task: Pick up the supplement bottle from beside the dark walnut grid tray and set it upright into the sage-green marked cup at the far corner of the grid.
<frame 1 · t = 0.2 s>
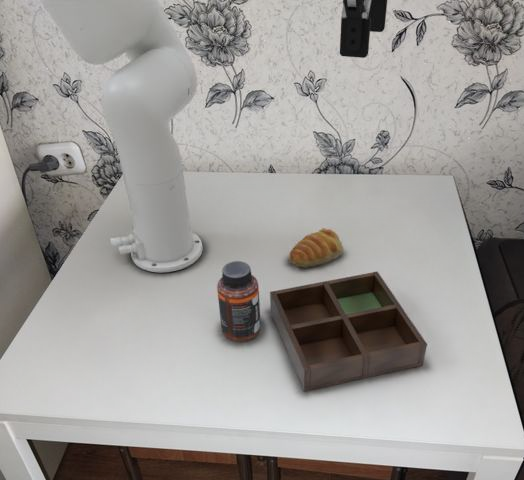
hand: (362, 42, 71), 37 cm above the table, tool pointing down, fingers open, 9 cm apart
supplement bottle: (241, 330, 90), on the table
grid: (342, 337, 87), on the table
pastry: (316, 256, 103), on the table
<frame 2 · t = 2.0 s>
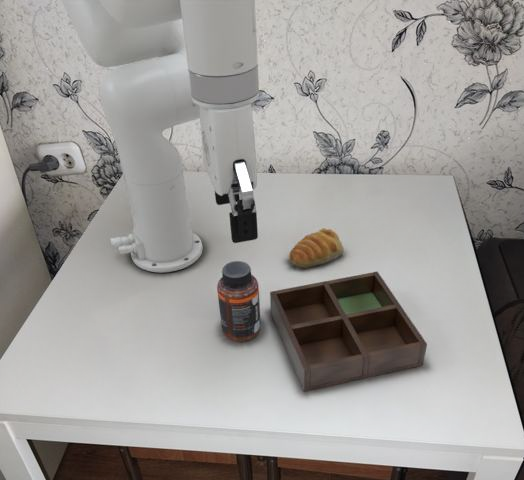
hand: (236, 220, 76), 19 cm above the table, tool pointing down, fingers open, 9 cm apart
nothing on the table moved.
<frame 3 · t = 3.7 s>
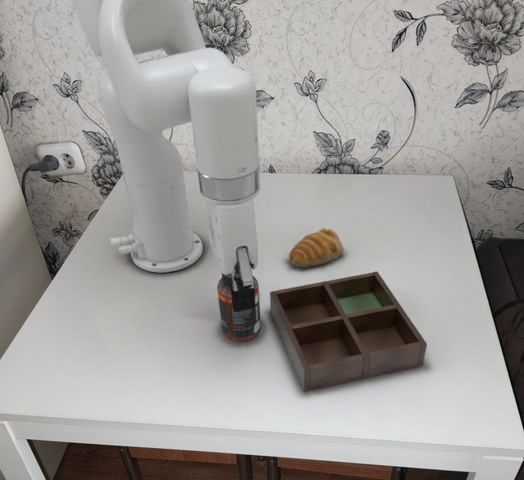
hand: (238, 293, 85), 7 cm above the table, tool pointing down, fingers closed on supplement bottle, 6 cm apart
supplement bottle: (241, 330, 90), on the table, touching gripper
everything else where it was.
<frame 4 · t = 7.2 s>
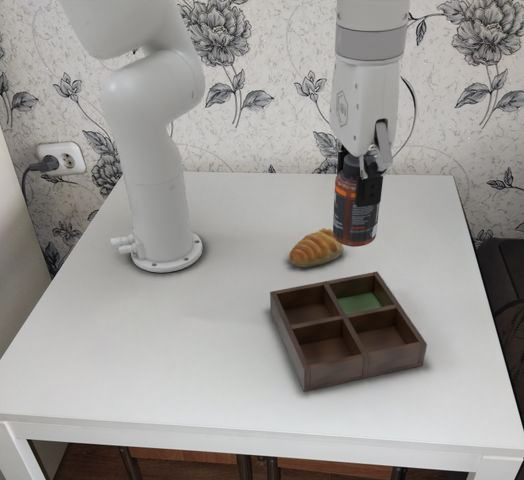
hand: (357, 190, 76), 21 cm above the table, tool pointing down, fingers closed on supplement bottle, 6 cm apart
supplement bottle: (354, 237, 81), point 14 cm above the table, touching gripper
everything else where it was.
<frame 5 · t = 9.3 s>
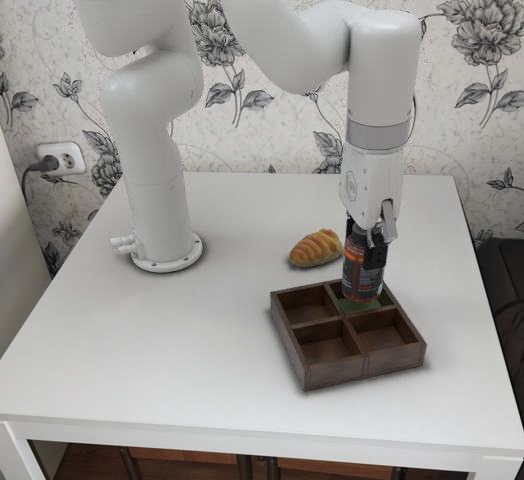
hand: (364, 253, 83), 11 cm above the table, tool pointing down, fingers closed on supplement bottle, 6 cm apart
supplement bottle: (361, 293, 88), point 4 cm above the table, touching gripper
everything else where it was.
when the fingers open (8 cm above the table, at t = 10.8 s): supplement bottle stays where it is, resting on grid.
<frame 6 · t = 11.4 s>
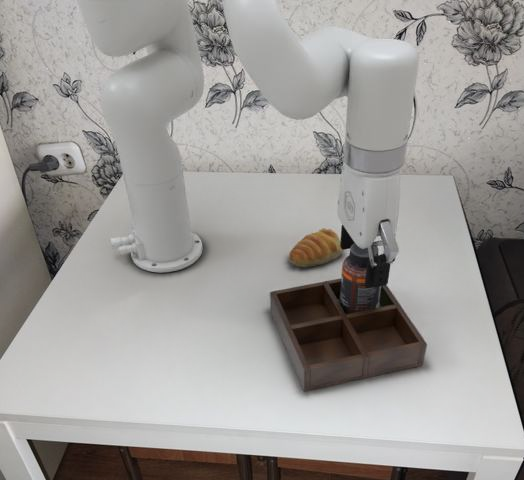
hand: (362, 265, 85), 9 cm above the table, tool pointing down, fingers open, 9 cm apart
supplement bottle: (358, 311, 91), point 1 cm above the table, touching grid
everything else where it was.
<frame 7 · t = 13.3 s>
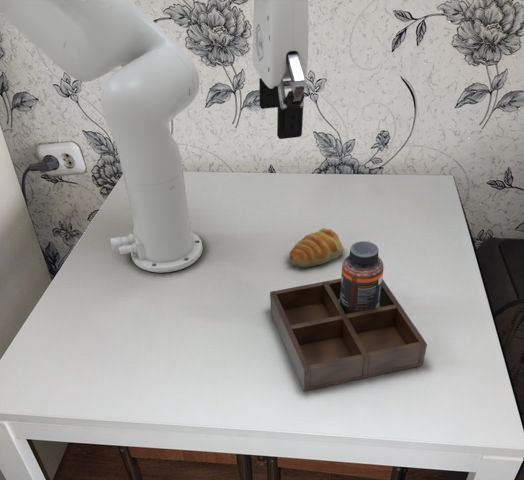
hand: (279, 121, 80), 26 cm above the table, tool pointing down, fingers open, 9 cm apart
nothing on the table moved.
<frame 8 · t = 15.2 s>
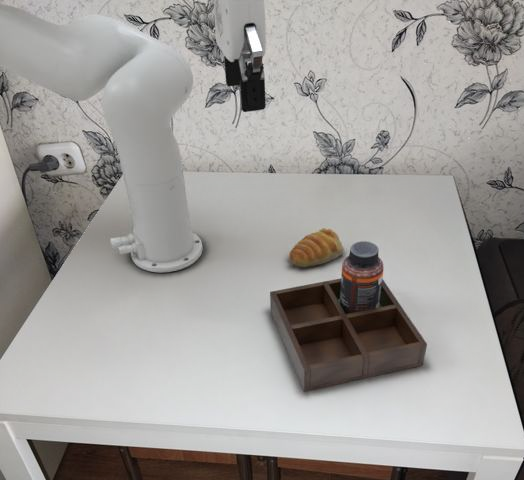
hand: (245, 96, 82), 28 cm above the table, tool pointing down, fingers open, 9 cm apart
nothing on the table moved.
at the end: supplement bottle 0.1 cm from the target spot in the grid, point 0.6 cm above the grid's base; supplement bottle tilted 0°; the gripper is holding nothing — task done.
